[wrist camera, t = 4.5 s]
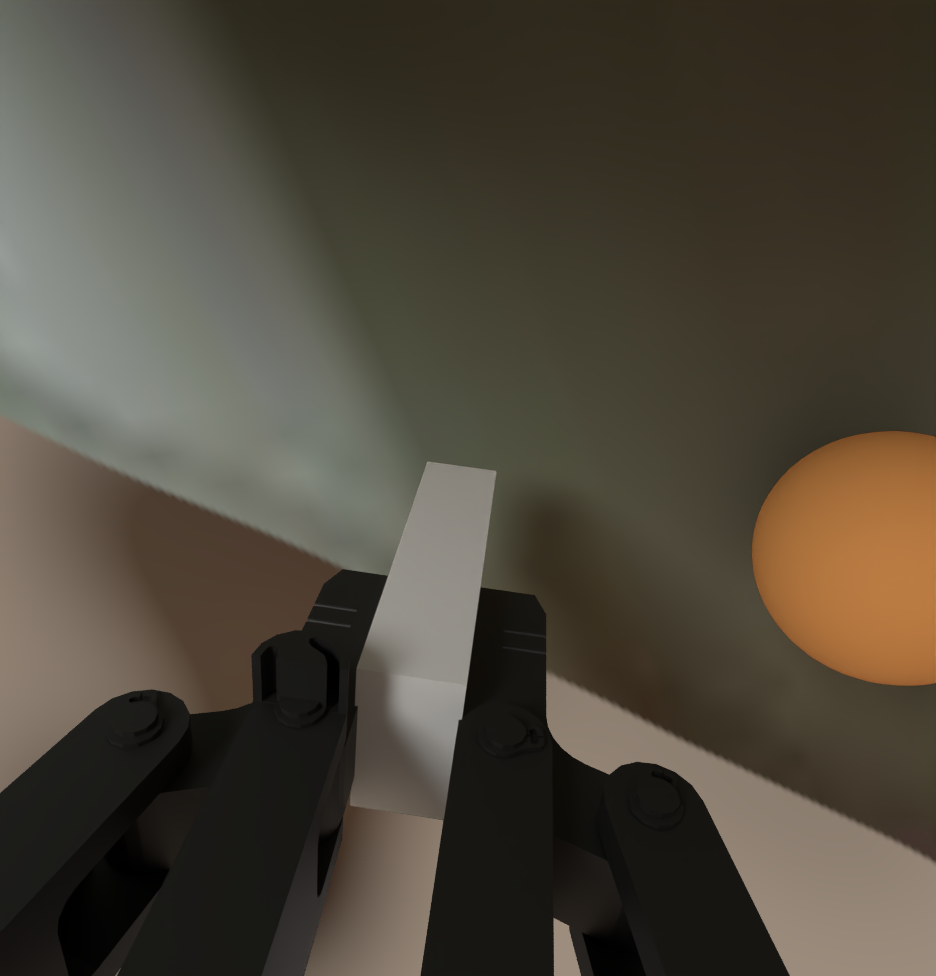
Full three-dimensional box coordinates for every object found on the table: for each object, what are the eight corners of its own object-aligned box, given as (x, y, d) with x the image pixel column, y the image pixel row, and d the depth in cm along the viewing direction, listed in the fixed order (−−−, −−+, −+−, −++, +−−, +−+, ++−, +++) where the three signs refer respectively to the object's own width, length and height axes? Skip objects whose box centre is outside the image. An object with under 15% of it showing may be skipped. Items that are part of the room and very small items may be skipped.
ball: (704, 569, 20) (755, 721, 15) (765, 379, 17) (850, 488, 12) (907, 598, 20) (1026, 761, 15) (1001, 410, 17) (1183, 534, 12)
